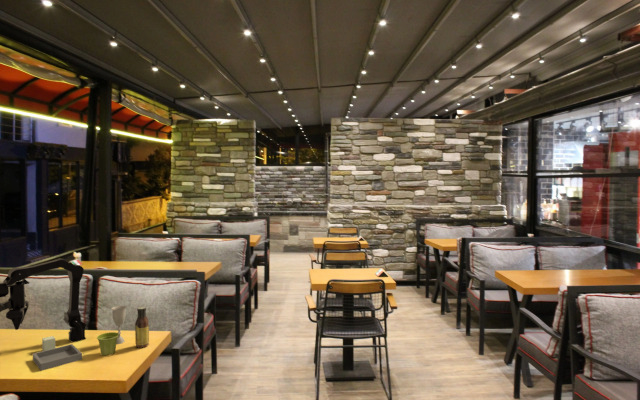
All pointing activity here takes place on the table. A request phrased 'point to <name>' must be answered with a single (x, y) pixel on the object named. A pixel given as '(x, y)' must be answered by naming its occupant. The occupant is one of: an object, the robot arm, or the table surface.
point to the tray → (56, 357)
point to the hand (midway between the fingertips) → (18, 326)
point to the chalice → (119, 320)
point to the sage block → (48, 343)
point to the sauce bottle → (141, 328)
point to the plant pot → (108, 343)
